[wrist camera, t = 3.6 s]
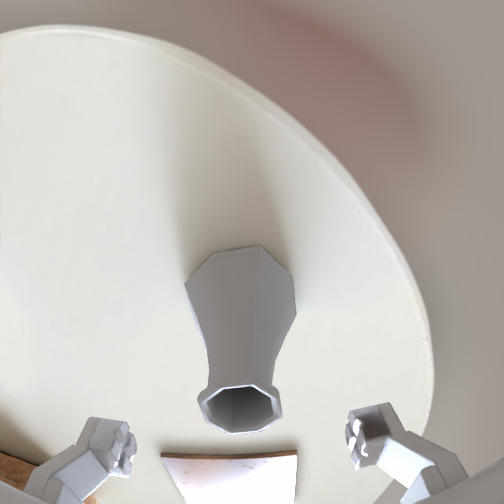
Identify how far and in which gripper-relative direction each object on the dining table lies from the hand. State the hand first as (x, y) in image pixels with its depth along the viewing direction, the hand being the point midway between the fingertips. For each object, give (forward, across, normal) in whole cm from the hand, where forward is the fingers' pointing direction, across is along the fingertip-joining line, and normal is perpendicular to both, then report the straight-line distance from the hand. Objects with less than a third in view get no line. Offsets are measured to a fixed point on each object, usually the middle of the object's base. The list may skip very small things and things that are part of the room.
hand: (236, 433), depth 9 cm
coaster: (+11, +3, +25) cm, 27 cm away
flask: (+11, 0, 0) cm, 11 cm away
